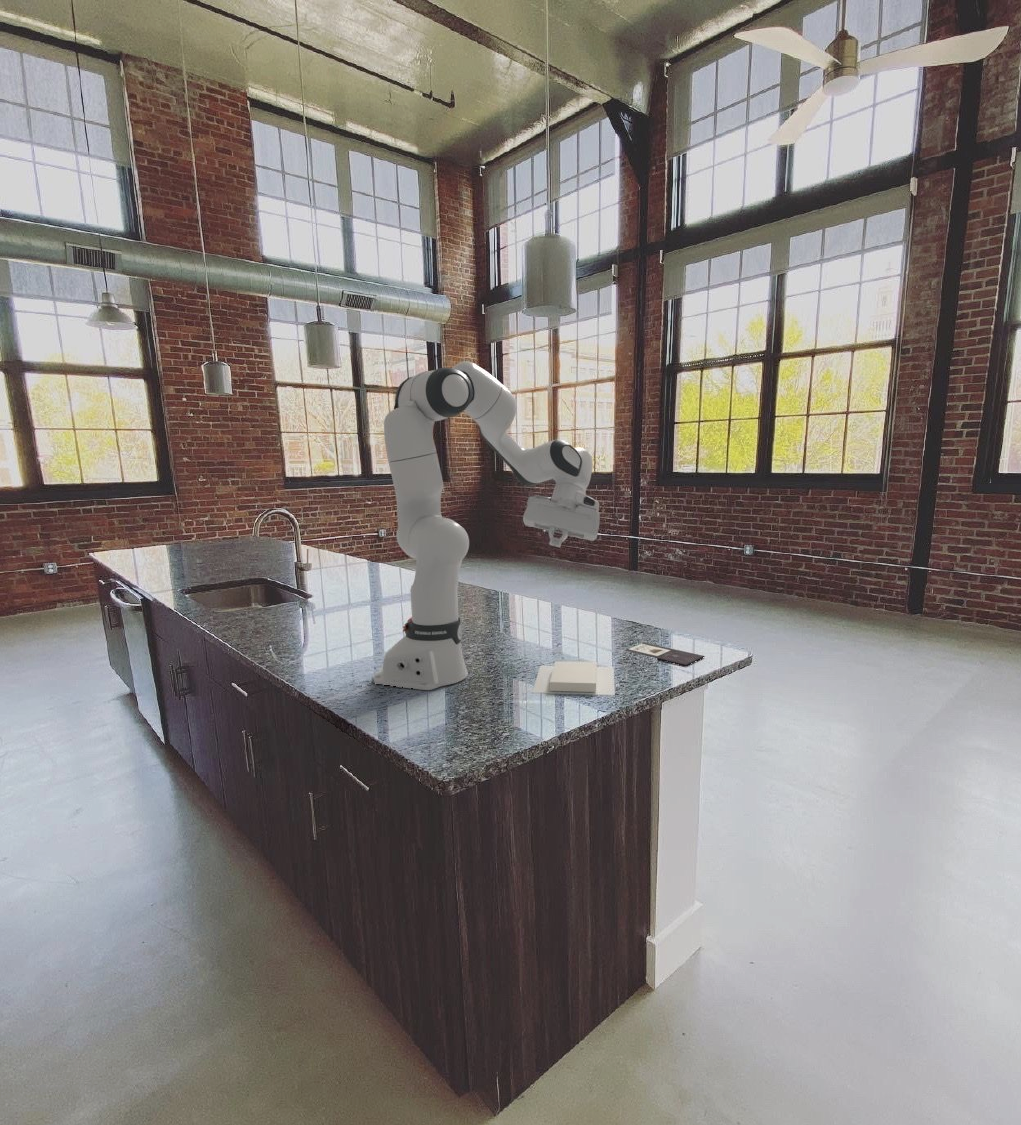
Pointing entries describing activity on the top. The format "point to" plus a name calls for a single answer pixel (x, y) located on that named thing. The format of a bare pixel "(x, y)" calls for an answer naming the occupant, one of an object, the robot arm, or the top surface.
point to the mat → (602, 688)
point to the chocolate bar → (666, 654)
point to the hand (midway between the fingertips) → (554, 545)
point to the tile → (574, 677)
